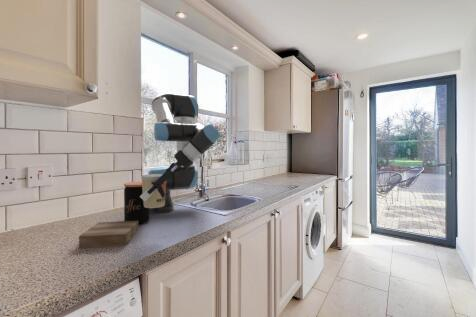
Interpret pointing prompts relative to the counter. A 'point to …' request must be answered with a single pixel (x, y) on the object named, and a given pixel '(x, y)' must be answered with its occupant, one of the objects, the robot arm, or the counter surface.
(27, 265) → the counter surface
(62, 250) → the counter surface
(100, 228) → the walnut riser
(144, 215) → the coffee jar
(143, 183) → the coffee cup
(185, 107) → the robot arm
